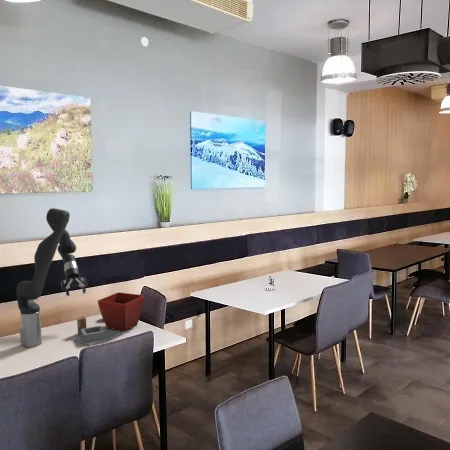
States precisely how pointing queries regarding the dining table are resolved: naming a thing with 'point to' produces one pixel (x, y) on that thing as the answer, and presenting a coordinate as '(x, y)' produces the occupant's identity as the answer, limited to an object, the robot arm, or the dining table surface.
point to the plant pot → (121, 310)
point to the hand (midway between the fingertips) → (76, 294)
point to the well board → (107, 335)
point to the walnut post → (81, 324)
